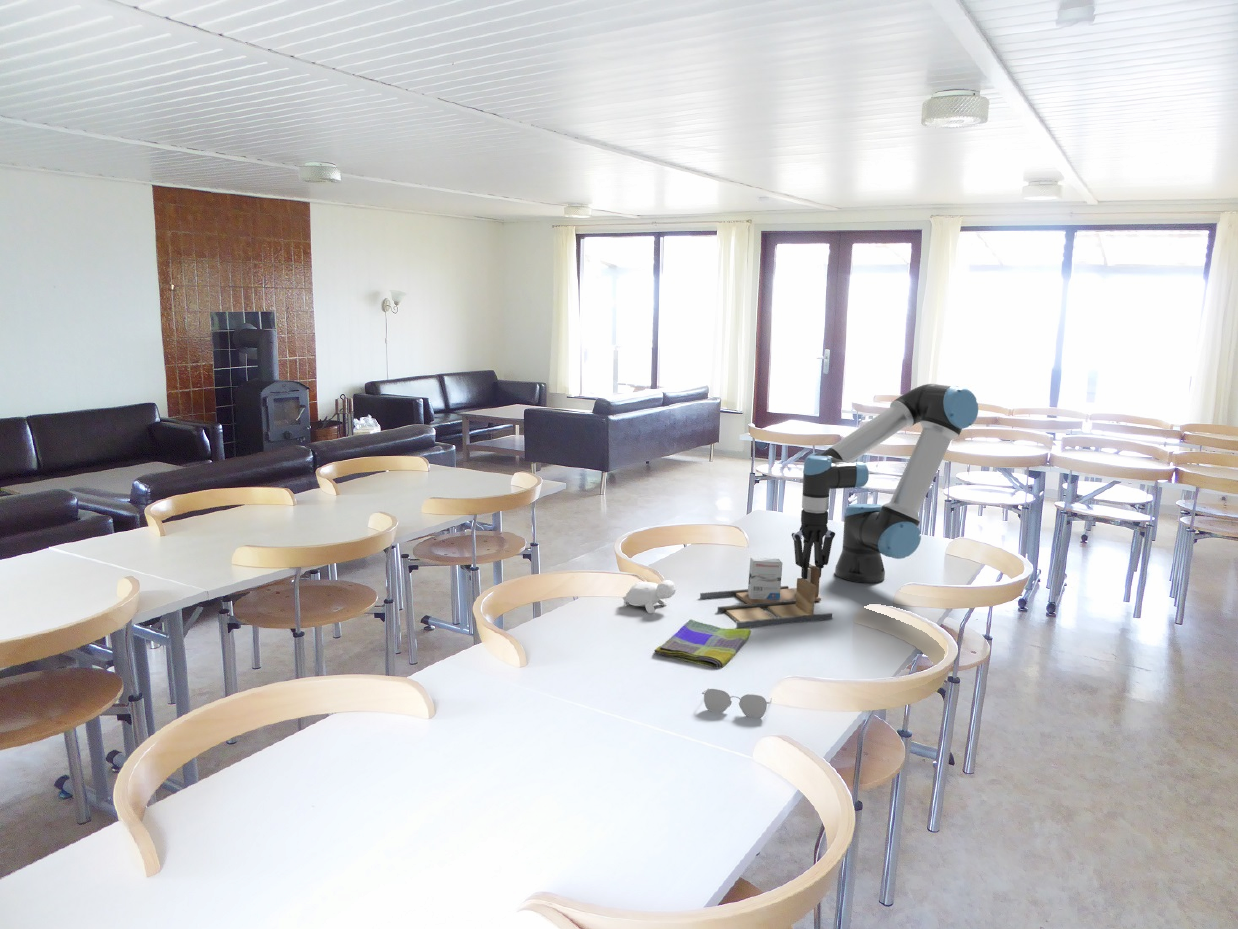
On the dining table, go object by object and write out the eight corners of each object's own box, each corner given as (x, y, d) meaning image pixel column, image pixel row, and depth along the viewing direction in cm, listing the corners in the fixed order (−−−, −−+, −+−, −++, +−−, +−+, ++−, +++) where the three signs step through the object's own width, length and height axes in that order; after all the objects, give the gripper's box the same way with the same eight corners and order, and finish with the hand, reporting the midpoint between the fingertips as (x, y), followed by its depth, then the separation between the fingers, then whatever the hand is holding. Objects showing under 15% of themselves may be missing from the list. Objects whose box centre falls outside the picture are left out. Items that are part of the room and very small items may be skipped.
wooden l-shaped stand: (797, 606, 238) (799, 576, 236) (816, 618, 228) (818, 587, 227) (726, 613, 231) (727, 582, 229) (742, 625, 222) (744, 593, 220)
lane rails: (786, 590, 251) (787, 585, 251) (832, 619, 228) (832, 613, 228) (700, 598, 243) (700, 593, 243) (737, 628, 220) (738, 623, 219)
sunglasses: (700, 711, 174) (701, 687, 174) (707, 700, 182) (709, 677, 182) (768, 721, 170) (770, 697, 170) (772, 710, 178) (774, 686, 178)
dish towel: (754, 638, 214) (755, 628, 214) (720, 672, 193) (720, 661, 193) (690, 625, 222) (691, 615, 222) (650, 657, 201) (651, 646, 201)
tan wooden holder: (803, 589, 251) (804, 561, 250) (821, 600, 242) (822, 571, 241) (735, 595, 245) (737, 566, 243) (751, 607, 235) (753, 576, 234)
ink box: (776, 597, 245) (779, 558, 243) (779, 602, 240) (783, 562, 238) (746, 596, 245) (749, 556, 243) (749, 601, 240) (753, 560, 238)
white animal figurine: (626, 619, 233) (671, 609, 225) (617, 589, 234) (662, 579, 226) (641, 610, 241) (686, 600, 233) (632, 581, 241) (676, 571, 233)
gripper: (830, 505, 248) (826, 582, 252) (785, 508, 243) (781, 587, 247) (845, 511, 241) (839, 590, 245) (798, 514, 236) (793, 595, 240)
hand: (810, 588), depth 246 cm, fingers open, 2 cm apart
